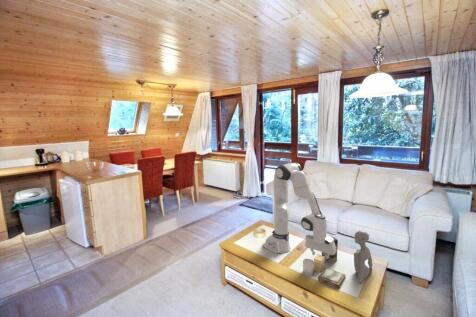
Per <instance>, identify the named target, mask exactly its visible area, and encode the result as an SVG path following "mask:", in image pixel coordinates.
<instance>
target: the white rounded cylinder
mask: <svg viewBox="0 0 476 317" xmlns="http://www.w3.org/2000/svg"><path fill="white" fill-rule="evenodd" d="M302 262H303V263H302V273H303V274H304V275H306V276H310V277H311V276H313V275H314V273H315V270H314V259H312V258H304V259H303V260H302Z"/></svg>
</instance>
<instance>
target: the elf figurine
mask: <svg viewBox="0 0 476 317" xmlns="http://www.w3.org/2000/svg"><path fill="white" fill-rule="evenodd" d="M369 240H370V233H368V232H366V231H365V230H358V231H356V232H355V233H354V241H355V242H354V243H356V244H358V245H359V247H360V249H357V250H356V251H355V252H354V253H353V267H354V272H355V274H356V276H357V277H358V278H357V283H358V285H361V284H362V282H363V280H365V279H367V278H368V276H369V275H370V274H371V273H370V272H371V271H370V270H372V269H373V259H372V254H371V250H370V248H369V247H368V246H367V245H366V242H368V241H369ZM366 261H367V265H368V266H367V265H366Z"/></svg>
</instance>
